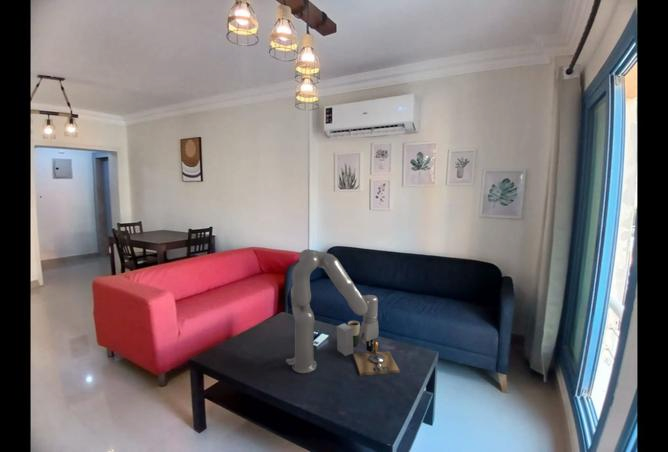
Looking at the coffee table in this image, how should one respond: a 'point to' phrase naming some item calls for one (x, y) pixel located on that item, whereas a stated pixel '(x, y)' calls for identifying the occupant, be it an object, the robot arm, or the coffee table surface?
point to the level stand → (375, 364)
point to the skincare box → (345, 339)
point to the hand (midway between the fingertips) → (369, 350)
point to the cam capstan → (376, 355)
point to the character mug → (355, 331)
